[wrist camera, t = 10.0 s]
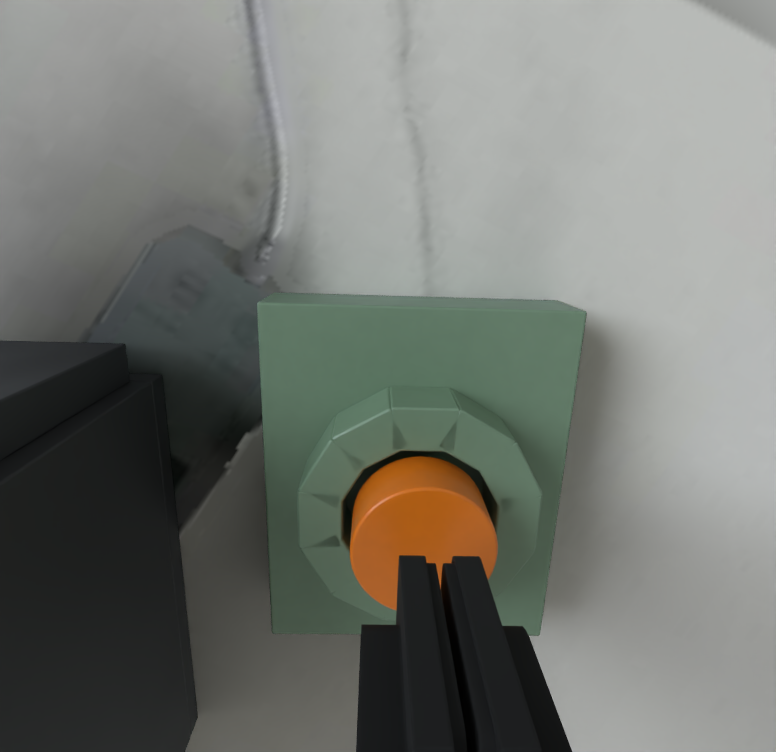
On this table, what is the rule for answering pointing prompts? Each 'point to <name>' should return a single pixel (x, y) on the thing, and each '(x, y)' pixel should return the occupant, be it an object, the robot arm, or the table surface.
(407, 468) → the button
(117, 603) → the dark grey drawer cabinet
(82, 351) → the drawer
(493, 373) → the control block
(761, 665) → the table surface
